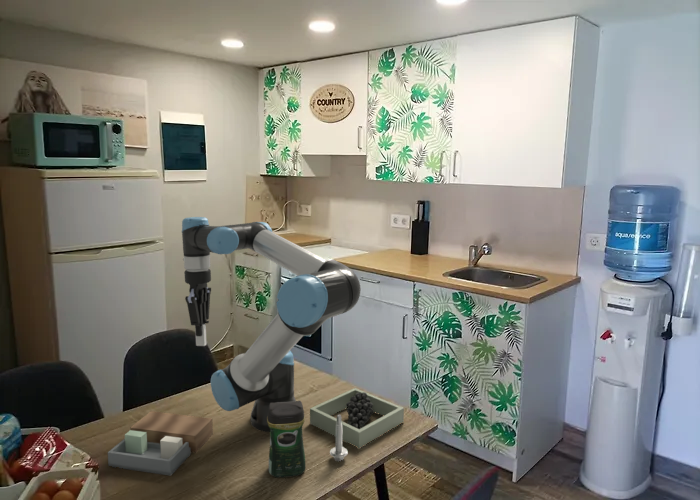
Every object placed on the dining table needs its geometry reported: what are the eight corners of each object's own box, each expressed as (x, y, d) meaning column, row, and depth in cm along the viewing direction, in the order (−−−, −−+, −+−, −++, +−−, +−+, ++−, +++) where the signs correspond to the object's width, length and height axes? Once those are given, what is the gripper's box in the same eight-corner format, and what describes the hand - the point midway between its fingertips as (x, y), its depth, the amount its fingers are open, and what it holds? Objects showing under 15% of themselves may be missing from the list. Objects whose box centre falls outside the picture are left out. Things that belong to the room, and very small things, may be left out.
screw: (345, 453, 142) (349, 462, 137) (328, 454, 141) (331, 464, 136) (346, 409, 140) (349, 417, 135) (328, 410, 139) (331, 419, 134)
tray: (190, 454, 140) (190, 440, 140) (170, 475, 131) (170, 461, 130) (132, 446, 144) (131, 433, 144) (108, 466, 135) (107, 452, 134)
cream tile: (182, 438, 138) (177, 442, 135) (183, 455, 139) (178, 460, 136) (165, 435, 139) (160, 440, 136) (166, 452, 140) (161, 457, 137)
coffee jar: (304, 459, 138) (303, 395, 135) (306, 477, 131) (306, 409, 128) (268, 462, 137) (266, 397, 134) (268, 480, 129) (266, 412, 126)
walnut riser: (212, 434, 151) (212, 418, 150) (195, 452, 141) (195, 436, 140) (151, 426, 155) (150, 411, 154) (131, 443, 145) (130, 427, 145)
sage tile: (146, 432, 141) (140, 436, 138) (147, 449, 141) (142, 454, 139) (130, 430, 142) (124, 434, 139) (131, 446, 142) (125, 451, 140)
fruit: (361, 409, 148) (370, 386, 163) (334, 414, 150) (346, 391, 165) (370, 436, 149) (378, 410, 164) (344, 441, 151) (354, 415, 166)
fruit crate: (403, 422, 159) (403, 407, 158) (359, 449, 144) (359, 432, 143) (354, 401, 172) (355, 387, 171) (310, 423, 158) (309, 408, 157)
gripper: (195, 264, 160) (199, 337, 163) (175, 273, 147) (179, 351, 151) (218, 265, 158) (221, 338, 162) (199, 273, 146) (203, 353, 149)
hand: (201, 345), depth 156 cm, fingers closed
